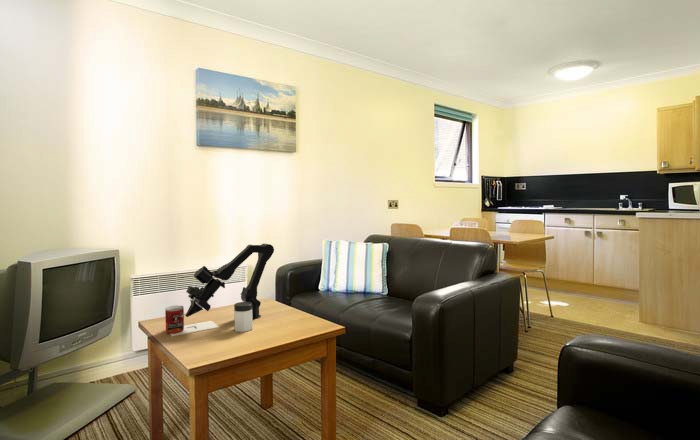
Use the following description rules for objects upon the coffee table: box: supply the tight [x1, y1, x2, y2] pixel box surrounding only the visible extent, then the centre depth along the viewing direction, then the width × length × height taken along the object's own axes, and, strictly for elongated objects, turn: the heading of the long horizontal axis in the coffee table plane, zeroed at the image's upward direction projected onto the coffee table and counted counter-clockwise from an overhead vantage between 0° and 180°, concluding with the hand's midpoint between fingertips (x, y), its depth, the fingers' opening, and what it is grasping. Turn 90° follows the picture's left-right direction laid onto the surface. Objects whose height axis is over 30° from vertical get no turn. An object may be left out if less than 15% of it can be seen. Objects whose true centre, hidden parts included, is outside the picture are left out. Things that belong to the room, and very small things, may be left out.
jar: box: [233, 301, 254, 333], centre depth 180 cm, size 9×8×12 cm
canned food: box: [164, 304, 185, 335], centre depth 176 cm, size 8×8×11 cm
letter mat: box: [169, 320, 220, 337], centre depth 181 cm, size 21×12×1 cm, turn 126°
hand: (186, 316), depth 180 cm, fingers closed
